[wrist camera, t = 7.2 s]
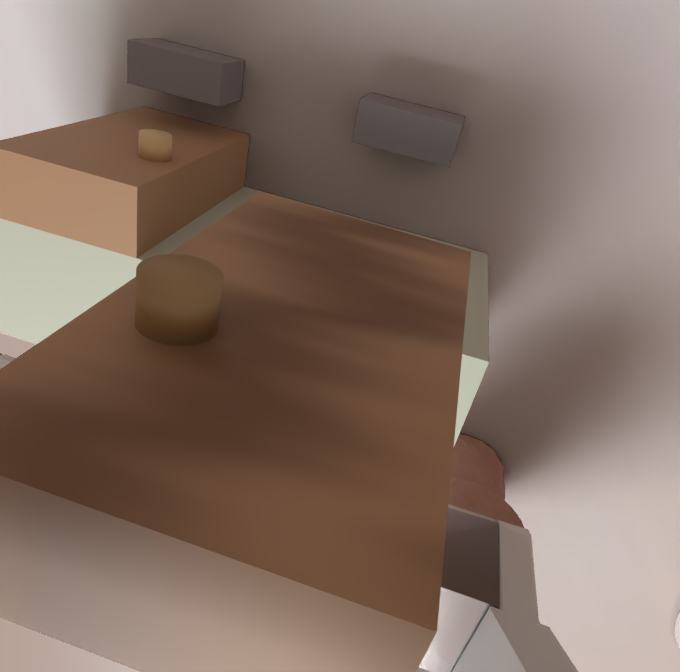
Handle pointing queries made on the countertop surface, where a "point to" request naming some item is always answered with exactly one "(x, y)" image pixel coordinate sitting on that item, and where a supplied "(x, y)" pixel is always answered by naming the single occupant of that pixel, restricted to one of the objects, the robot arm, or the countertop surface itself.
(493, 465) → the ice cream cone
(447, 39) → the countertop surface
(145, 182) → the cabinet
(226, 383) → the wooden block with peg
